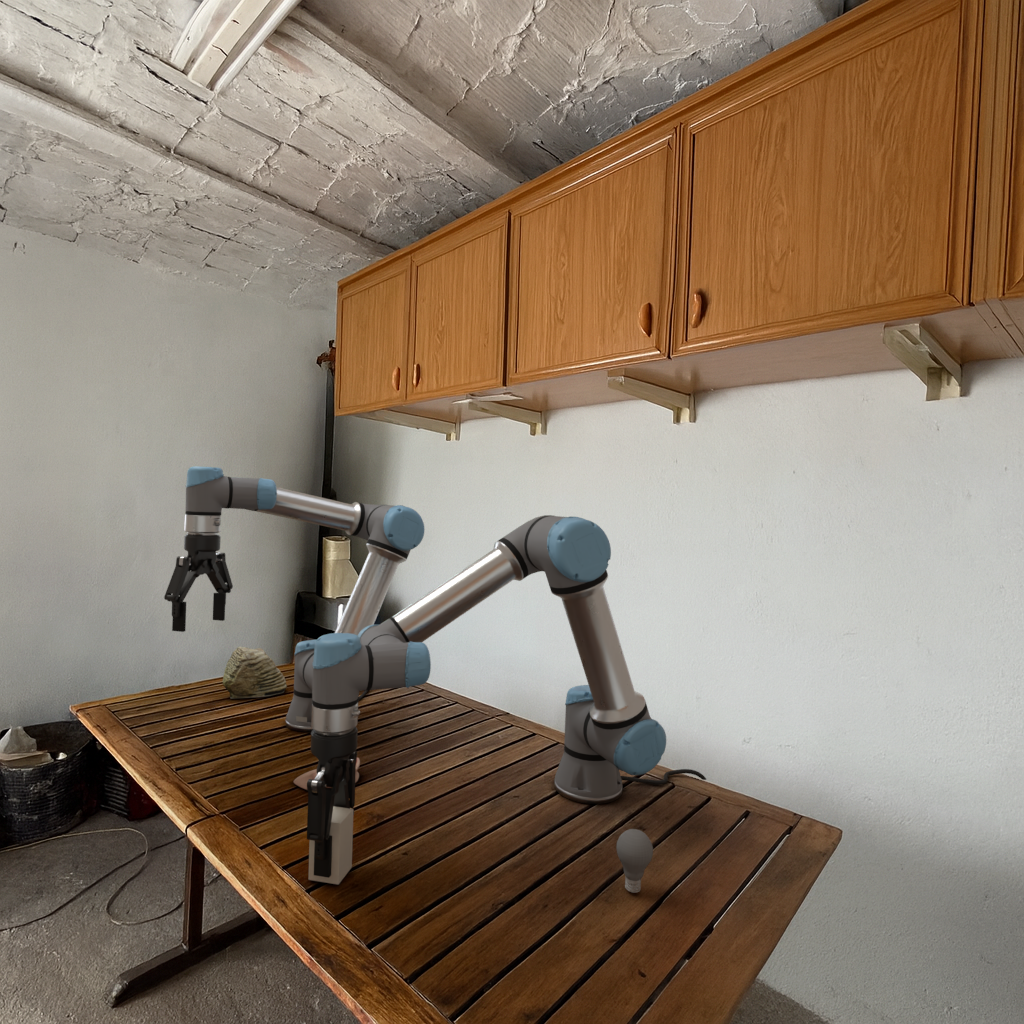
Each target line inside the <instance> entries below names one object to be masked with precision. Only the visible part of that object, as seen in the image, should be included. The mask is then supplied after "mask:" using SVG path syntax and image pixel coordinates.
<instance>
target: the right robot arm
mask: <svg viewBox="0 0 1024 1024" xmlns="http://www.w3.org/2000/svg"><path fill="white" fill-rule="evenodd" d="M611 556H612V549H611V543H610V540H609V538H608V536H607V534H606V532H605V531H604V529H602V527H600V526H599V525H598V524H597V523H595V522H593V521H591V520H589V519H586V518H583V517H580V516H560V515H559V516H558V515H551V514H549V515H547V514H546V515H540V516H537V517H534V518H532V519H530V520H527V521H526V522H524V523H523V524H521V525H520V526H518V527H516V528H515V529H513V530H512V531H510V532H509V533H507V534H505V535H504V536H503V537H501V538H500V539H498V540H497V541H495V542H494V544H493V549H492V550H491V551H489V552H487V553H486V554H484V555H483V556H482V557H480V558H478V559H477V560H476V561H474V562H472V563H471V564H469V565H468V566H466V567H465V568H463V569H462V570H460V571H459V572H456V574H454V575H453V576H451V577H450V578H448V579H446V580H445V581H444V582H442V583H441V584H439V585H438V586H436V587H435V588H433V589H432V590H430V591H429V592H427V593H426V594H424V595H423V596H421V597H420V598H418V599H416V600H415V601H414V602H412V603H411V604H409V605H407V606H406V607H405V608H403V609H402V610H400V611H399V612H397V613H396V614H394V615H392V616H391V617H389V618H387V619H385V621H383V622H381V623H380V624H374V625H369V626H367V627H365V628H364V629H362V630H361V631H360V632H359V634H358V636H357V635H355V634H350V633H335V632H333V633H332V632H331V633H327V634H323V635H321V636H319V637H318V638H317V639H315V640H316V642H315V648H314V659H313V663H312V665H313V686H312V717H311V727H312V728H313V730H312V732H310V753H311V754H312V755H313V756H314V757H316V759H317V760H318V761H317V766H316V769H317V776H316V777H315V779H314V780H313V779H309V780H308V781H307V790H306V791H307V819H306V820H307V822H306V840H308V841H310V840H313V841H315V847H314V875H315V876H322V877H328V878H329V877H330V876H331V863H332V836H330V827H331V820H332V813H333V806H335V807H343V808H350V809H354V808H355V805H356V783H355V771H356V759H357V758H358V751H357V749H358V738H359V737H358V733H359V730H358V727H357V725H358V723H359V721H358V720H359V716H360V715H361V711H360V709H359V701H360V700H359V695H360V692H364V691H366V690H368V691H373V690H375V691H376V690H387V689H388V690H389V689H399V688H406V689H407V688H408V689H409V688H411V687H416V686H423V685H425V684H426V683H427V682H428V681H429V678H430V676H431V668H432V667H431V665H432V664H431V663H432V662H431V655H430V654H431V653H430V651H429V648H428V645H427V644H426V643H425V641H426V640H428V639H429V638H431V637H432V636H433V635H435V634H436V633H438V632H440V631H441V630H442V629H444V628H445V627H446V626H448V625H449V624H451V623H452V622H454V621H455V620H457V619H458V618H460V617H462V616H464V614H466V613H468V612H469V611H470V610H472V609H473V608H475V607H476V606H477V605H478V604H480V603H482V602H483V601H485V600H486V599H488V598H489V597H490V596H492V595H493V594H495V593H496V592H498V591H499V590H501V589H503V588H504V587H505V586H507V585H508V584H509V583H512V581H516V582H517V581H518V582H522V580H524V579H526V578H527V577H528V576H530V575H533V574H536V573H539V572H544V574H545V577H546V580H547V583H548V586H549V589H550V592H551V594H552V595H554V596H556V597H558V598H560V599H561V602H562V605H563V608H564V611H565V615H566V617H567V621H568V625H569V627H570V630H571V633H572V637H573V640H574V643H575V647H576V649H577V653H578V656H579V660H580V663H581V665H582V668H583V672H584V675H585V679H586V681H587V684H581V685H576V686H573V687H570V688H569V689H568V691H567V692H566V699H565V704H564V706H565V715H564V716H565V718H564V738H563V739H564V740H563V741H564V742H563V743H564V745H563V753H562V756H561V759H560V761H559V764H558V766H557V770H556V772H555V776H554V783H553V784H554V785H553V787H554V789H555V791H556V792H557V793H558V794H559V795H560V796H561V797H564V798H566V799H568V800H571V801H574V802H577V803H581V804H587V805H601V804H608V803H612V802H615V801H616V800H617V801H618V799H620V797H621V796H622V794H623V781H627V782H633V783H639V784H648V785H654V786H661V785H662V786H663V785H665V784H667V783H668V781H669V777H670V776H675V775H680V774H681V775H682V774H690V775H694V776H696V777H698V778H699V779H700V780H703V781H706V780H707V778H706V776H705V775H704V774H703V773H701V772H700V771H698V770H694V769H690V768H681V769H673V770H669V771H666V772H665V773H664V774H663V779H658V780H657V779H656V780H655V779H649V778H648V779H647V778H640V777H635V776H642V775H645V774H647V773H649V772H651V771H653V769H654V768H656V766H657V765H658V764H659V763H660V761H661V760H662V756H664V753H665V751H666V746H667V733H666V730H665V729H664V727H663V726H662V724H661V723H660V722H659V721H658V720H656V719H654V718H652V717H651V715H650V712H649V708H648V705H647V701H646V699H645V696H644V695H643V694H642V693H640V692H638V691H636V690H635V688H634V685H633V681H632V678H631V675H630V670H629V668H628V665H627V661H626V657H625V655H624V651H623V648H622V643H621V641H620V638H619V635H618V631H617V628H616V624H615V621H614V618H613V614H612V610H611V608H610V605H609V601H608V598H607V597H608V596H607V594H606V591H605V587H604V585H605V583H606V581H607V580H608V579H609V573H608V571H607V570H608V567H609V561H610V560H611V558H612V557H611ZM620 771H622V772H624V773H626V774H628V775H631V776H627V775H621V772H620ZM327 787H331V788H327ZM354 815H355V810H353V816H354Z"/></svg>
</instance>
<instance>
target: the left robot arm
mask: <svg viewBox="0 0 1024 1024" xmlns="http://www.w3.org/2000/svg"><path fill="white" fill-rule="evenodd" d="M222 509H236V510H237V509H238V510H247V511H251V512H258V513H262V514H267V515H272V516H276V517H280V518H281V517H282V518H284V519H290V520H295V521H298V522H304V523H308V524H314V525H316V526H317V525H318V526H323V527H327V528H331V529H337V530H341V531H344V532H345V534H347V535H348V536H352V537H356V538H359V539H362V540H364V541H367V542H366V544H365V545H366V548H367V550H368V554H367V556H366V559H365V561H364V563H363V566H362V568H361V570H360V573H359V575H358V577H357V579H356V582H355V584H354V587H353V589H352V592H351V594H350V595H349V598H348V601H347V603H346V606H345V607H344V611H343V612H342V615H341V617H340V618H339V622H338V624H337V626H336V629H335V631H334V633H350V634H355V635H357V636H358V634H359V632H360V631H361V630H362V629H364V628H365V627H367V626H369V625H375V622H376V620H377V617H378V615H379V612H380V610H381V608H382V605H383V603H384V600H385V598H386V596H387V593H388V591H389V590H390V589H389V588H390V586H391V584H392V581H393V579H394V578H395V577H394V576H395V575H396V571H397V569H398V566H399V565H400V564H402V563H404V562H406V561H407V560H408V557H409V555H410V553H411V550H413V549H415V548H417V547H419V545H420V544H421V542H422V541H423V540H424V536H425V530H426V529H425V522H424V521H423V518H422V517H421V515H420V514H419V513H418V511H416V510H415V509H413V508H412V507H409V506H405V505H403V504H402V505H400V504H399V505H394V504H371V503H370V504H369V503H362V502H357V501H354V502H352V503H347V502H342V501H338V500H334V499H330V498H326V497H321V496H317V495H313V494H309V493H304V492H300V491H297V490H291V489H287V488H283V487H279V486H277V484H276V482H275V481H274V480H273V479H271V478H263V477H243V476H242V477H241V476H240V477H237V476H236V477H235V476H234V477H233V476H227V475H224V470H223V468H222V467H213V466H198V465H197V466H191V467H189V468H188V469H187V472H186V483H185V513H184V514H185V515H184V527H183V528H184V530H183V531H184V532H185V533H186V534H185V535H184V537H183V539H184V540H183V549H184V551H186V552H187V556H181V555H179V556H176V559H175V566H174V569H173V572H172V574H171V578H170V580H169V583H168V586H167V588H166V591H165V594H164V597H163V598H164V600H165V601H167V602H170V603H171V617H172V620H171V621H172V625H171V631H172V632H181V633H184V632H186V626H187V625H186V623H187V622H186V621H187V601H185V599H186V597H187V595H188V593H189V592H190V590H191V588H192V586H193V585H194V582H195V581H196V579H197V578H199V577H200V576H202V575H207V578H208V579H209V581H210V583H211V585H212V587H213V588H214V590H215V591H216V592H213V601H212V620H213V621H221V622H223V621H225V620H226V604H227V594H230V593H231V592H232V589H233V588H234V586H233V581H232V578H231V575H230V571H229V568H228V565H227V561H226V559H227V557H226V553H225V552H220V550H221V538H222V536H221V535H220V534H219V533H220V532H221V531H222V530H221V528H222ZM218 551H219V552H218ZM316 640H317V639H307V640H303V641H299V642H297V644H296V645H295V650H294V651H295V652H294V653H293V654H294V655H293V656H294V672H293V673H294V674H293V695H292V696H293V697H292V699H291V702H290V704H289V708H288V711H287V713H286V715H285V726H286V728H287V729H289V730H291V731H294V732H295V731H296V732H301V733H311V732H312V730H313V728H312V727H311V717H312V686H313V665H312V663H313V659H314V648H315V642H316ZM368 692H369V690H366V691H362V693H361V695H360V696H359V701H360V700H362V699H363V698H364V696H366V694H367V693H368Z"/></svg>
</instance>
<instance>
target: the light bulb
mask: <svg viewBox="0 0 1024 1024" xmlns="http://www.w3.org/2000/svg"><path fill="white" fill-rule="evenodd" d="M615 849H616V854H617V857H618V859H619V861H620V863H621V865H622V867H623V873H624V874H623V875H624V876H625V878H624V888H625V890H627V891H628V892H630V893H634V894H635V893H639V892H640V891H641V889H642V887H641V886H642V879H643V877H644V875H645V871H646V868H647V867H648V866H649V864H650V863H651V861H652V859H653V855H654V847H653V843H652V841H651V838H649V836H648V835H647V834H646V833H645V832H643V831H642V830H641V829H636V828H629V829H627V830H625V831H623V832H622V833H621V834H620V835H619V837H618V839H617V841H616V847H615Z"/></svg>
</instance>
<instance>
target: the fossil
mask: <svg viewBox="0 0 1024 1024" xmlns="http://www.w3.org/2000/svg"><path fill="white" fill-rule="evenodd" d="M222 676H223V677H222V685H223V687H224V688H225V690H226V691H228V693H229V698H230V699H250V698H264V697H271V696H275V695H281V694H284V693H285V691H286V689H287V687H288V686H287V680H286V678H285V676H284V674H283V673H282V672H281V669H279V668H278V667H277V665H276V663H275V662H274V660H273V659H272V658H271V657H270V656H269V655H268V654H267V653H266V652H265V650H264V649H263V648H260V647H258V648H251V647H247V646H246V647H245V646H238V647H237V648H236V649H235V650H233V651H232V653H231V656H230V657H229V659H228V660H227V663H226V666H225V668H224V671H223V675H222Z"/></svg>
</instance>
